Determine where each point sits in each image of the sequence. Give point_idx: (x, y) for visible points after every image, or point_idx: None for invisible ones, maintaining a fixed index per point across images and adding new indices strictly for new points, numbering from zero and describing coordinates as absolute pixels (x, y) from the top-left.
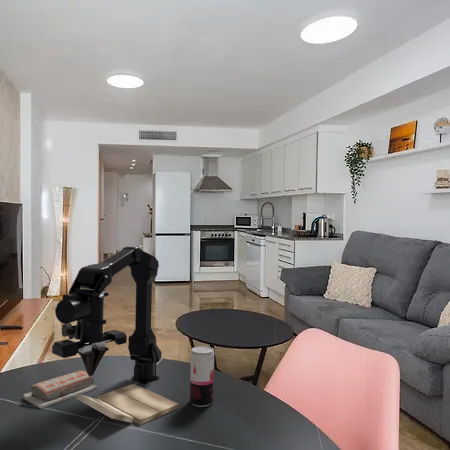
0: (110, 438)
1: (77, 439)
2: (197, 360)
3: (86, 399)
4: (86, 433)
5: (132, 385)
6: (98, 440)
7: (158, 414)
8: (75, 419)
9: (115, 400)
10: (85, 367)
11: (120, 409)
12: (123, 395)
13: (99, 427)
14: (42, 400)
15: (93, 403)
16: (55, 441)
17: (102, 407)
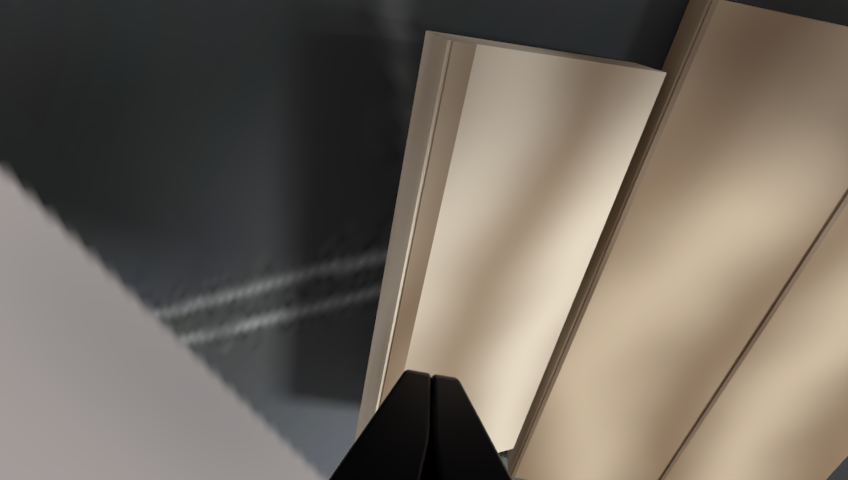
0: (330, 419)
1: (215, 311)
2: None
3: (412, 208)
4: (283, 307)
5: None
6: (282, 391)
7: None
8: (349, 122)
9: (698, 215)
10: (337, 474)
11: (570, 337)
12: (822, 203)
13: (372, 319)
14: None
15: (391, 308)
16: (116, 235)
17: (375, 405)
